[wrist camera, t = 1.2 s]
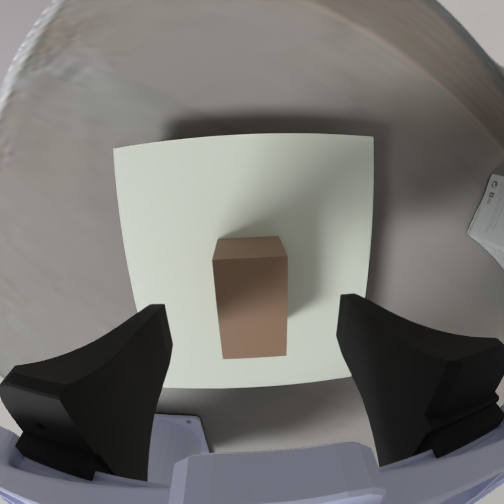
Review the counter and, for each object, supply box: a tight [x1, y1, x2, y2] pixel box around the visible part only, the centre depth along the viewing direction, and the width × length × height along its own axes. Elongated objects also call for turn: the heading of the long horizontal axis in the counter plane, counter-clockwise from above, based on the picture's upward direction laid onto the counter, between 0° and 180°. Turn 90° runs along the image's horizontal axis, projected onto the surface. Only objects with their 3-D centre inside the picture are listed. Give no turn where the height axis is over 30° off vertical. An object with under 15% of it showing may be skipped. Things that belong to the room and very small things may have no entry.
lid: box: [113, 133, 374, 388], centre depth 14 cm, size 13×15×4 cm
